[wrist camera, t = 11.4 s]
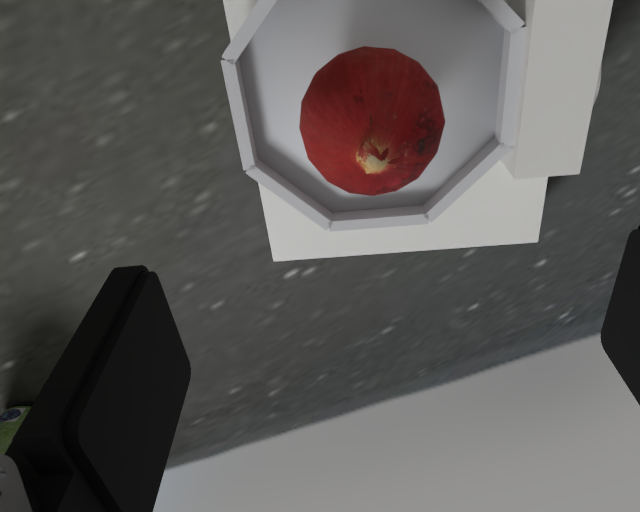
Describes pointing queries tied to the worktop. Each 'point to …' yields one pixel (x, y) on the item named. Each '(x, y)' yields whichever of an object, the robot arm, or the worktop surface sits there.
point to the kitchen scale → (458, 106)
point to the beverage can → (11, 425)
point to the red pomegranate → (371, 120)
